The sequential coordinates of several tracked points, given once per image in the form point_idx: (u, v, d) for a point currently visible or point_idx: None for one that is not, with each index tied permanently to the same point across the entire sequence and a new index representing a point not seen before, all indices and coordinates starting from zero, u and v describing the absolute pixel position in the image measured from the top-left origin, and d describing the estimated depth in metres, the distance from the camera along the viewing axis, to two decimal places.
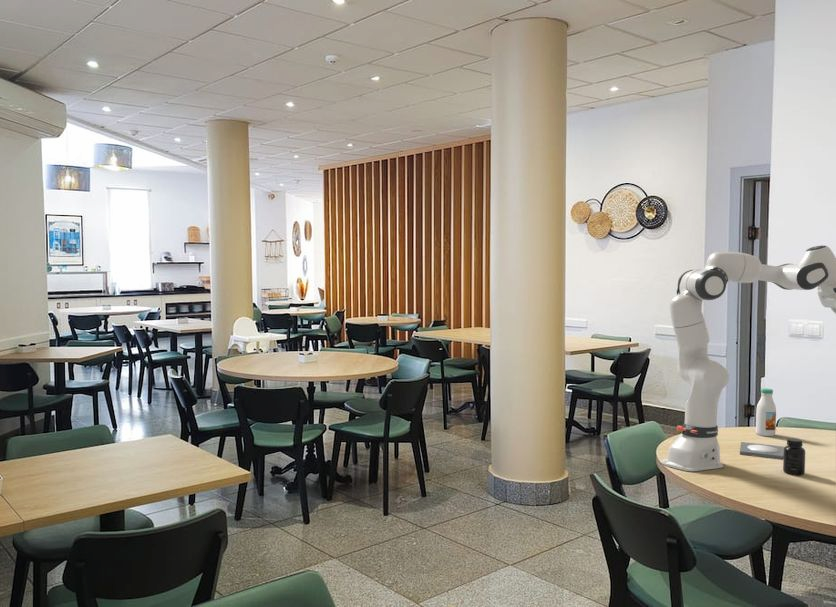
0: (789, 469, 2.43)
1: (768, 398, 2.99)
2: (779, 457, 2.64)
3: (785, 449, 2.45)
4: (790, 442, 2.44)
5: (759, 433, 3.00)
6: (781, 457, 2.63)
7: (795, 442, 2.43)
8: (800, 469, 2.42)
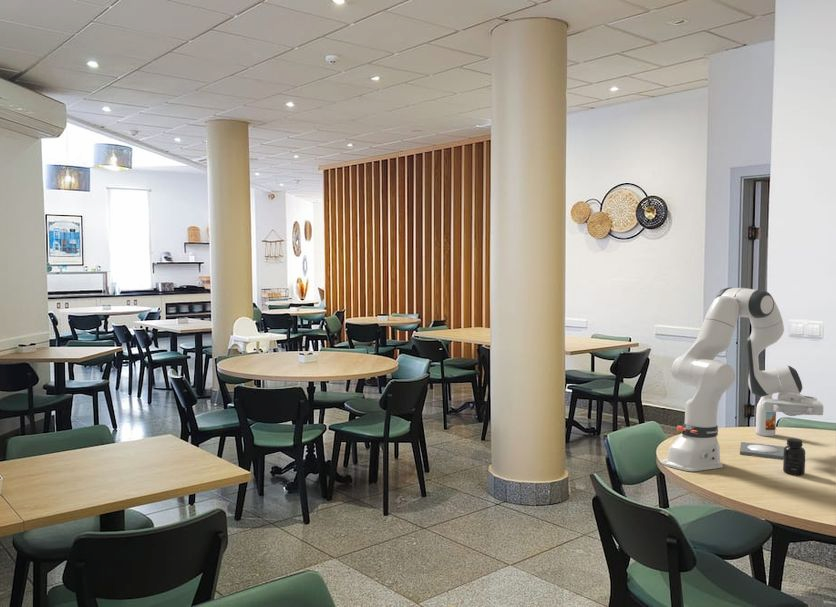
0: (789, 469, 2.43)
1: (768, 398, 2.99)
2: (779, 457, 2.64)
3: (785, 449, 2.45)
4: (790, 442, 2.44)
5: (759, 433, 3.00)
6: (781, 457, 2.63)
7: (795, 442, 2.43)
8: (800, 469, 2.42)
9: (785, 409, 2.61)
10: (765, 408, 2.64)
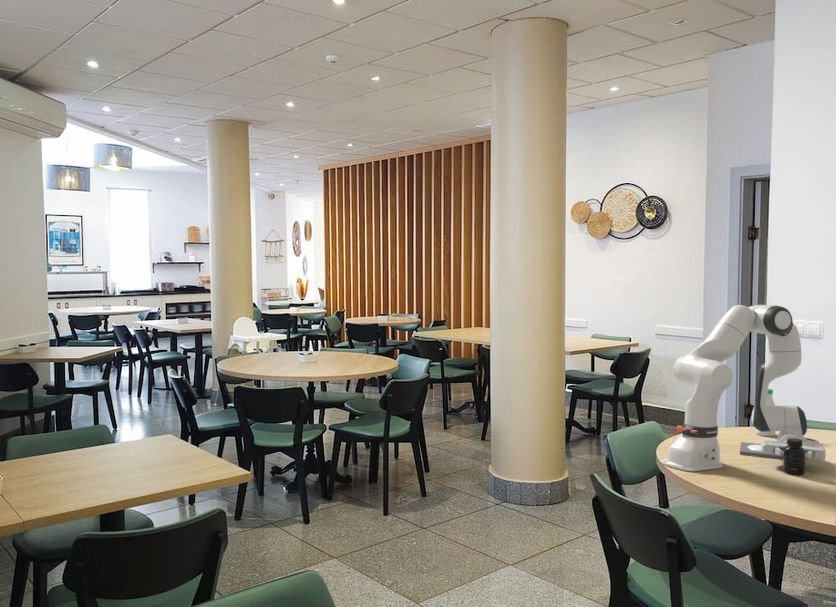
0: (789, 469, 2.43)
1: (768, 398, 2.99)
2: (779, 457, 2.64)
3: (785, 449, 2.45)
4: (790, 442, 2.44)
5: (759, 433, 3.00)
6: (781, 457, 2.63)
7: (795, 442, 2.43)
8: (800, 469, 2.42)
9: None
10: (765, 451, 2.53)
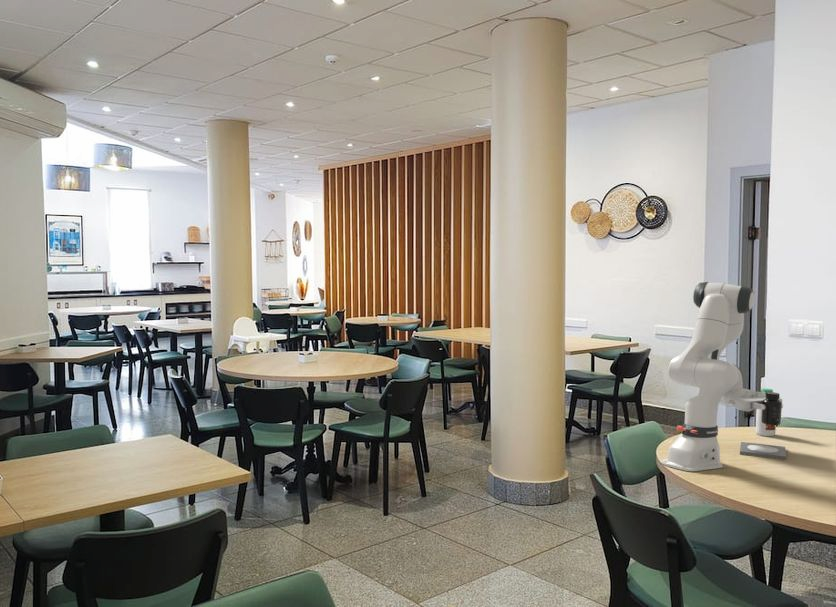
0: (774, 420, 2.66)
1: None
2: (779, 457, 2.64)
3: (769, 403, 2.66)
4: (773, 395, 2.66)
5: (759, 433, 3.00)
6: (781, 457, 2.63)
7: (777, 395, 2.66)
8: (780, 418, 2.67)
9: None
10: (745, 408, 2.69)
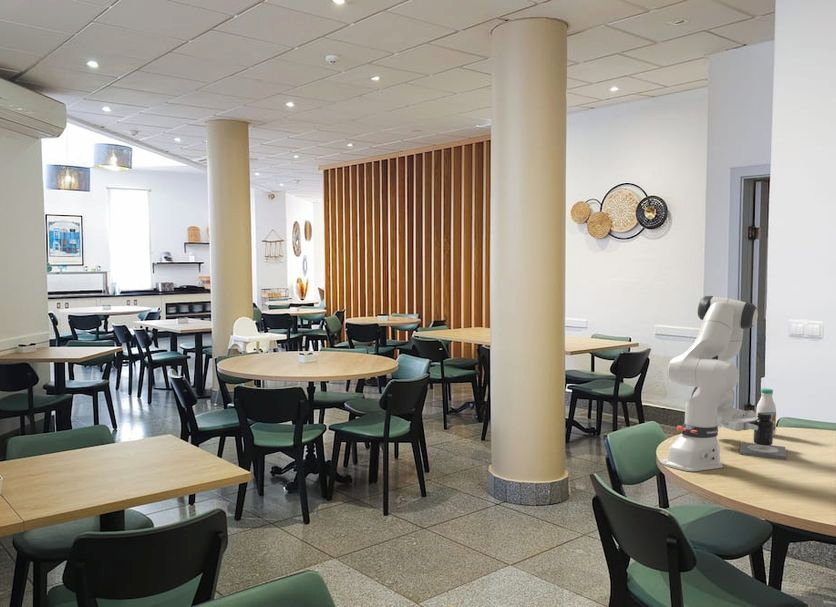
0: (767, 440, 2.70)
1: (768, 398, 2.99)
2: (779, 457, 2.64)
3: (762, 423, 2.70)
4: (766, 416, 2.70)
5: None
6: (781, 457, 2.63)
7: (769, 415, 2.70)
8: (772, 438, 2.71)
9: None
10: (738, 428, 2.72)
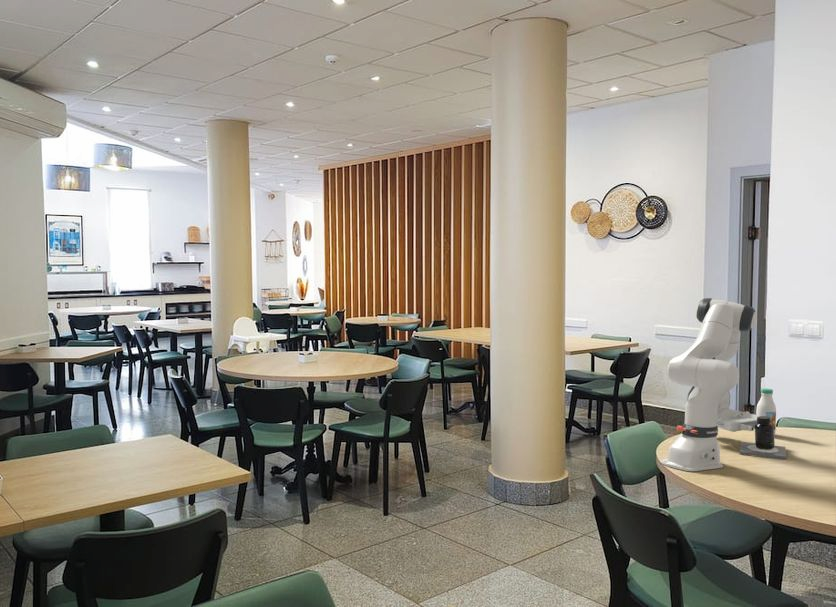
0: (769, 444, 2.70)
1: (768, 398, 2.99)
2: (779, 457, 2.64)
3: (762, 427, 2.71)
4: (765, 420, 2.71)
5: None
6: (781, 457, 2.63)
7: (769, 419, 2.71)
8: None
9: None
10: (734, 429, 2.74)
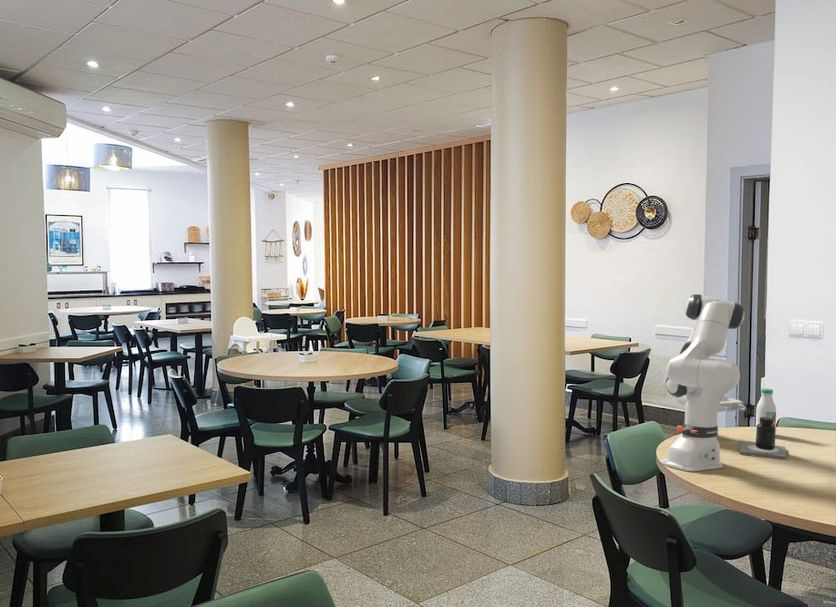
0: (769, 445, 2.70)
1: (768, 398, 2.99)
2: (779, 457, 2.64)
3: (764, 428, 2.71)
4: (768, 421, 2.71)
5: None
6: (781, 457, 2.63)
7: (771, 420, 2.71)
8: None
9: None
10: None
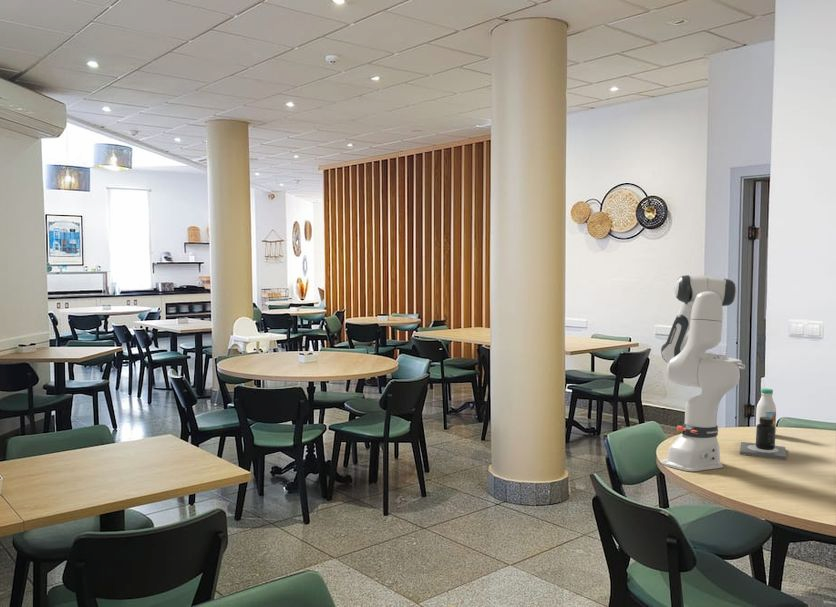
0: (769, 445, 2.70)
1: (768, 398, 2.99)
2: (779, 457, 2.64)
3: (764, 428, 2.71)
4: (768, 421, 2.71)
5: None
6: (781, 457, 2.63)
7: (771, 420, 2.71)
8: None
9: None
10: None
